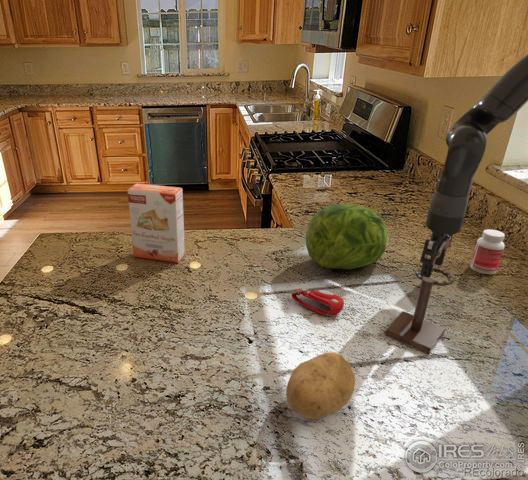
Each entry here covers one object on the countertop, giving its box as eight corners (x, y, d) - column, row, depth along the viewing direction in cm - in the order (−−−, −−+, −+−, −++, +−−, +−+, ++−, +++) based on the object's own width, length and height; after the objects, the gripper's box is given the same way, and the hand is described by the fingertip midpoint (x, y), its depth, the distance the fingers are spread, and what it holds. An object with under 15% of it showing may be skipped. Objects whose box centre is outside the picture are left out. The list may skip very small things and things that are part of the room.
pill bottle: (500, 276, 111) (513, 238, 106) (475, 275, 111) (487, 237, 107) (488, 265, 116) (500, 228, 112) (465, 264, 117) (475, 227, 112)
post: (444, 333, 90) (459, 279, 84) (429, 354, 84) (444, 297, 78) (401, 316, 96) (413, 264, 90) (384, 334, 90) (396, 280, 84)
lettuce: (420, 243, 110) (384, 188, 119) (358, 250, 98) (323, 187, 107) (372, 277, 124) (343, 225, 132) (313, 286, 112) (285, 228, 120)
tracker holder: (332, 287, 105) (355, 300, 95) (328, 304, 106) (351, 319, 96) (287, 283, 102) (307, 296, 92) (284, 300, 102) (303, 315, 93)
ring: (457, 277, 111) (459, 273, 110) (446, 290, 105) (447, 286, 104) (422, 266, 116) (423, 262, 116) (410, 278, 111) (411, 274, 110)
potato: (267, 409, 72) (270, 373, 69) (317, 370, 81) (322, 336, 77) (315, 446, 66) (320, 409, 62) (364, 400, 74) (371, 364, 70)
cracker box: (132, 258, 122) (125, 189, 113) (141, 248, 128) (135, 182, 118) (178, 264, 119) (174, 193, 110) (185, 254, 124) (183, 186, 115)
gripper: (454, 223, 92) (437, 286, 99) (473, 206, 102) (456, 265, 109) (419, 214, 97) (404, 275, 104) (440, 198, 106) (425, 255, 113)
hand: (431, 270), depth 106 cm, fingers open, 8 cm apart
